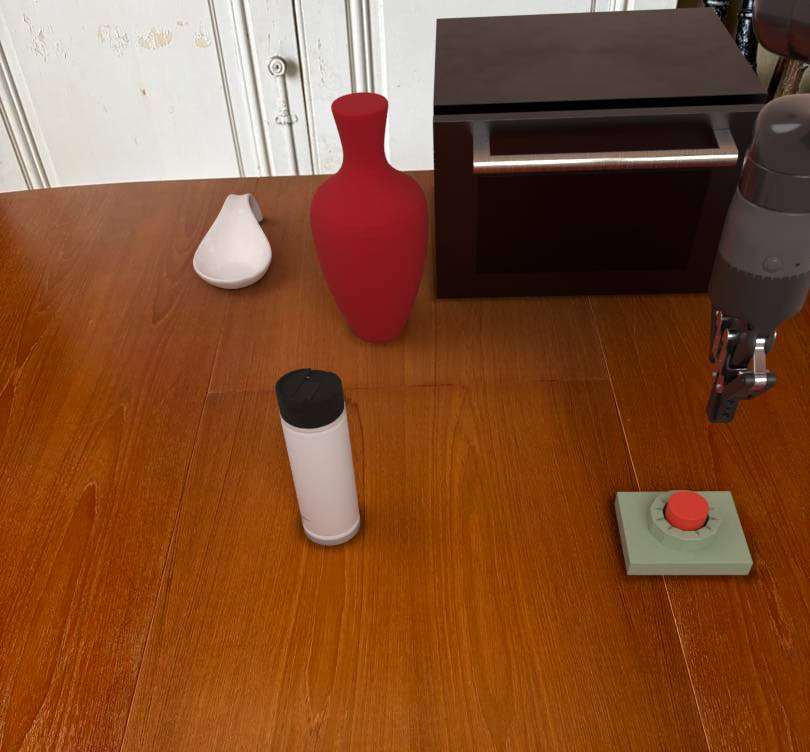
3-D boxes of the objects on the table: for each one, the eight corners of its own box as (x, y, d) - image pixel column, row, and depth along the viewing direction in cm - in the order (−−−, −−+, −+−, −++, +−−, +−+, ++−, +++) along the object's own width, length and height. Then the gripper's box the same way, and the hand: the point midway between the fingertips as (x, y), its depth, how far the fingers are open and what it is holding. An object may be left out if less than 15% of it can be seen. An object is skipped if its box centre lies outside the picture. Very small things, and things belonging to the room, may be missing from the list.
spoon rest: (273, 298, 120) (264, 253, 115) (194, 303, 120) (181, 258, 115) (282, 219, 136) (275, 177, 130) (212, 224, 136) (202, 181, 130)
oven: (716, 287, 116) (768, 93, 97) (437, 293, 119) (433, 105, 99) (675, 183, 137) (712, 6, 118) (439, 190, 140) (436, 18, 120)
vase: (448, 312, 115) (446, 85, 93) (404, 372, 107) (390, 137, 84) (356, 292, 120) (332, 71, 97) (307, 348, 111) (269, 119, 89)
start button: (701, 502, 84) (704, 490, 83) (709, 531, 82) (713, 519, 80) (661, 502, 84) (665, 490, 83) (668, 531, 82) (672, 519, 81)
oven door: (726, 319, 112) (788, 134, 91) (436, 324, 114) (432, 146, 94) (717, 287, 116) (773, 103, 95) (436, 293, 119) (432, 115, 98)
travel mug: (294, 543, 88) (260, 397, 73) (316, 500, 92) (289, 354, 77) (348, 554, 87) (325, 408, 72) (368, 511, 91) (351, 364, 76)
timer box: (725, 505, 89) (734, 479, 86) (747, 576, 82) (758, 551, 79) (614, 505, 89) (619, 479, 86) (626, 576, 83) (633, 551, 80)
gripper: (847, 293, 59) (778, 466, 72) (795, 203, 67) (742, 372, 80) (740, 296, 59) (691, 467, 72) (703, 207, 68) (665, 374, 81)
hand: (718, 417), depth 76 cm, fingers closed
